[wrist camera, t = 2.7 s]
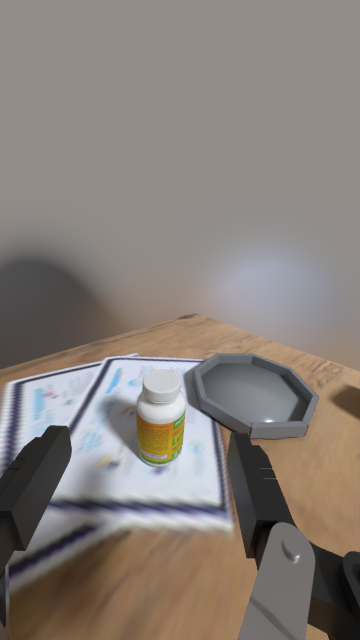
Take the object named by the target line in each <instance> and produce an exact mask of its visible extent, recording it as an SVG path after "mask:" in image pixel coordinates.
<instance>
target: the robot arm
mask: <svg viewBox="0 0 360 640" xmlns="http://www.w3.org/2000/svg"><path fill="white" fill-rule="evenodd" d="M71 453H72V447H71V441H70V435H69V430H68V427H67V426H55V425H51V426H49V427H48V428H47V429H46V431H45V432H44V434H43V435H42V436H41V437H35V438H34V439H33V440H32V441H31V442H29V443H28V444H27V445H26V446H24V448H23V449H22V450H21V452H20V453H19V454H18V456H17V457H16V459H15V461H13V462H12V464H11V465H10V466H9V468H8V470H6V472H5V473H4V474H3V476H2V477H1V478H0V640H11V633H10V613H9V578H8V561H9V559H10V558H11V556H12V554H13V552H14V550H16V551H25V550H26V548H27V546H28V544H29V542H30V540H31V538H32V536H33V534H34V532H35V530H36V528H37V526H38V524H39V522H40V520H41V518H42V516H43V514H44V512H45V510H46V508H47V506H48V504H49V502H50V500H51V498H52V496H53V494H54V492H55V490H56V488H57V486H58V484H59V481H60V479H61V477H62V475H63V473H64V471H65V469H66V467H67V465H68V463H69V461H70V458H71ZM227 463H228V470H229V475H230V480H231V485H232V490H233V495H234V499H235V504H236V509H237V514H238V519H239V524H240V529H241V533H242V538H243V543H244V548H245V553H246V558H255V561H256V565H257V570H258V574H257V577H256V580H255V584H254V587H253V590H252V593H251V597H250V600H249V603H248V606H247V610H246V613H245V616H244V619H243V623H242V626H241V629H240V632H239V636H238V639H237V640H305V635H306V628H307V623H308V624H310V625H312V626H314V627H316V628H318V629H320V630H321V631H323V632H325V633H327V635H328V638H329V640H360V552H356V551H351V552H348V553H347V554H346V555H345V556H344V557H341V556H339V555H337V554H334V553H332V552H329V551H327V550H325V549H322V548H320V547H318V546H316V545H314V544H313V543H311V542H310V541H309V540H308V539H307V538H306V537H305V535H304V534H303V533H302V532H301V531H300V530H299V529H298V528H297V526H296V525H295V523H294V521H293V519H292V516H291V514H290V511H289V509H288V506H287V504H286V501H285V499H284V496H283V493H282V491H281V488H280V486H279V483H278V481H277V480H276V476H275V473H274V471H273V470H272V466H271V463H270V461H269V458H268V456H267V455H266V453H265V452H264V451H263V450H262V448H261V447H260V446H259V445H252V444H251V441H250V438H249V435H248V434H247V433H238V432H232V433H231V436H230V442H229V448H228V454H227Z"/></svg>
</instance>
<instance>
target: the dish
mask: <svg viewBox="0 0 360 640" xmlns="http://www.w3.org/2000/svg"><path fill="white" fill-rule="evenodd" d="M218 363H219V364H218ZM250 363H251V364H250ZM193 378H194V383H195V387H196V391H197V396H198V400H199V404H200V408H201V409H202V410H204V411H205V412H207V413H209V414H210V415H211V416H212V417H213V418H214V419H216V420H217V421H218V422H220V423H221V424H223V425H224V426H226V427H228V428H229V429H231V430H234V431H236V432H238V433H247V434H248V435H249V437H250V439H251V438H259V439H267V440H278V439H285V438H289V437H304V436H305V435H306V432H307V429H308V427H309V424H310V422H311V419H312V416H313V414H314V411H315V408H316V406H317V403H318V400H319V396H318V395H317V394H316V392H315V391H314V390H313V389H312V388H311V387H310V386H309V385H308V384H307V383H306V382H305V381H304V380H303V379H302V378H301V377H300V376H299V375H298V374H297V373H296V372H295V371H294V370H293V369H291V368H290V367H287V366H284V365H282V364H279V363H276V362H274V361H271V360H268V359H266V358H263V357H261V356H258V355H255V354H225V353H217V354H215V355H214V356H212V357H211V358H209V359H208V360H206V361H205V362H203V363H202V364H200V365H199V366H197V367H196V368H195V369H194V377H193Z"/></svg>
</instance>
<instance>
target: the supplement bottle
mask: <svg viewBox="0 0 360 640" xmlns="http://www.w3.org/2000/svg"><path fill="white" fill-rule="evenodd" d="M180 384H181V381H180V378H179V376H178V375H177V374H175V373H174V372H172V371H168V370H155V371H152V372H149V373H148V374H147V375H146V376H145V377H144V378H143V388H142V390H143V391H142V392H141V393H140V395H139V397H138V399H137V407H136V408H137V448H138V453H139V456H140V457H141V459H142V460H143V461H144V462H145V463H147V464H149V465H151V466H155V467H163V466H167V465H170V464H172V463H173V462H174V461H175V460H176V459H177V458H178V457H179V455H180V453H181V451H182V444H183V432H184V420H185V406H186V402H185V397H184V395H183V394H182V392H181V391H180Z"/></svg>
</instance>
